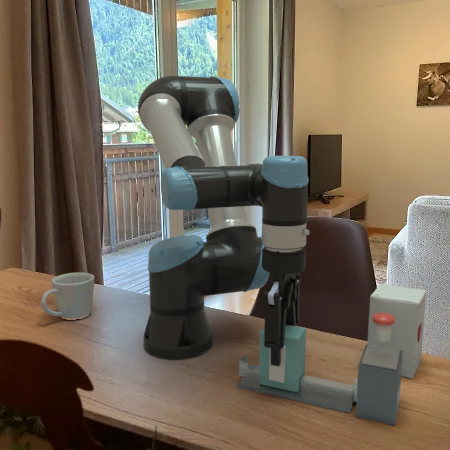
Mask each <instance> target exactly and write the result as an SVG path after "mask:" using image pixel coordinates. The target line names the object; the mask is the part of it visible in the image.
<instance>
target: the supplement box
mask: <svg viewBox="0 0 450 450" xmlns="http://www.w3.org/2000/svg"><path fill="white" fill-rule="evenodd" d="M369 296H370V297H369V314H368V326H367V327H368V328H367V329H368V331H367V344H366V345H368V344H369V345H375V346H381V347H387V348H393V349H399V350H401V351H403V355H402V370H401V377H403V378H408V379H411V380H412V379H414V377H415V375H416V373H417V371H418V368H419V366H420V364H421V361H422V351H423V338H424V337H423V336H424V326H425V325H424V324H425V311H426V310H425V309H426V301H427V299H426V298H427V297H426V296H427V290H426V289H420V288H414V287H413V288H412V287H405V286H399V285H394V284H389V283H387V284H385V283H381V284H380V285H379V286H378V287H377V288H375V289H374V291H373V292H372V293H371V295H369ZM379 312H382V313H388V314H391V315H393V316H394V317H395V323H394V324H392V325H391V335H390V341H388V342H381V341H378V340H376V339H375V323H374V322H373V321H372V316H373V314H374V313H379Z"/></svg>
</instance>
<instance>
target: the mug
mask: <svg viewBox="0 0 450 450" xmlns="http://www.w3.org/2000/svg"><path fill="white" fill-rule="evenodd" d="M50 283H51V287H52V288H51V289H48V290H47V291H45V292H44V293H43V294H42V296H41V300H40V305H41V308H42V310H43V311H44V312H45V313H46V314H47V315H50V316H51V317H52V316H53V317H60V316H62V317H64V318H70V319H72V318H80V317H84V316H87V315H89V314H90V313H91V314H92V308H93V297H94V287H95V275H94V274H92V273H89V272H69V273H63V274H60V275H57V276H55V277H53V278H52V279H51V281H50ZM52 294H53V295H54V298H55V302H56V306H57V307H56V308H57V310H58V311H57V310H52V309H50V308H49V307H48V306H47V302H46V301H47V299H48V297H49V296H50V295H52Z"/></svg>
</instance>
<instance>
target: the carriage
mask: <svg viewBox="0 0 450 450" xmlns="http://www.w3.org/2000/svg"><path fill="white" fill-rule="evenodd" d="M264 331H265V326H264V327H263V328H262V329H261V330H260V331H259V334H258V335H259V336H258V339H259V340H258V341H259V342H258V344H259V345H258V346H259V348H258V350H259V351H258V352H259V353H258V354H259V355H258V358H259V360H258V366H259V374H260V384H261V385H266V386H270V387H275V388H279V389H284V390H288V391H293V392H298V391H299V379H300V377H301V375H305V374H306V372H305V371H306V348H307V347H306V342H307V341H306V338H307V337H306V336H307V328H306V327H303V326H298V325H296V326H291V325H285V335H284V346H286V360H285V382H284V383H282V382H277V381H273V380H269V348H268V347H265V346H264Z"/></svg>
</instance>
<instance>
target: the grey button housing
mask: <svg viewBox="0 0 450 450" xmlns="http://www.w3.org/2000/svg"><path fill="white" fill-rule="evenodd" d="M402 355H403V351H401V350H399V349H393V348H387V347H381V346H375V345H369V344H368V345H367V344H365V346H364V348H363V352H362V354H361V357H360V359H359V361H358V365H357V366H358V368H357V369H358V370H357V378H358V385H357V402H356V406H355V407H356V411H355V416H356V417H357V418H360V419H365V420H370V421H373V422H378V423H383V424H387V425H392V426H396V423H397V419H398V418H397V417H398V412H399V407H400V400H401V399H400V398H401V383H402V376H401V370H402ZM356 417H355V418H356Z"/></svg>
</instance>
